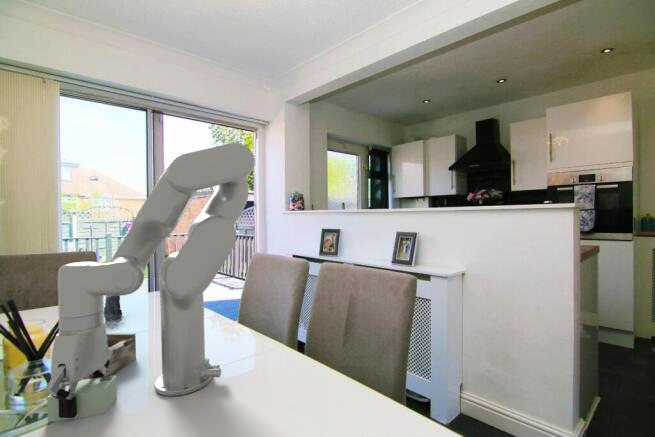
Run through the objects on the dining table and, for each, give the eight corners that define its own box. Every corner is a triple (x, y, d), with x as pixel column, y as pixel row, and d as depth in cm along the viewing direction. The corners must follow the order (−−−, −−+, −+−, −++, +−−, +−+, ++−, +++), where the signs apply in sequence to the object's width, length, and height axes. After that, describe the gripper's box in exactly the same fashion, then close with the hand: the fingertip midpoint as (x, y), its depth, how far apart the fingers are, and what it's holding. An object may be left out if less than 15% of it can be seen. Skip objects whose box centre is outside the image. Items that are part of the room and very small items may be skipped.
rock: (121, 320, 125) (120, 293, 125) (104, 323, 122) (103, 296, 122) (122, 313, 134) (121, 289, 134) (106, 316, 131) (105, 290, 131)
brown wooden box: (103, 358, 92) (102, 333, 92) (139, 358, 91) (139, 333, 91) (60, 384, 78) (60, 355, 78) (103, 384, 77) (102, 355, 77)
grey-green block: (116, 397, 72) (116, 374, 72) (105, 413, 66) (104, 388, 66) (64, 404, 69) (63, 381, 69) (48, 422, 64) (47, 396, 63)
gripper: (96, 309, 76) (97, 383, 76) (24, 337, 59) (26, 433, 59) (126, 309, 76) (128, 383, 76) (63, 337, 59) (65, 433, 59)
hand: (83, 404), depth 68 cm, fingers closed on grey-green block, 7 cm apart
